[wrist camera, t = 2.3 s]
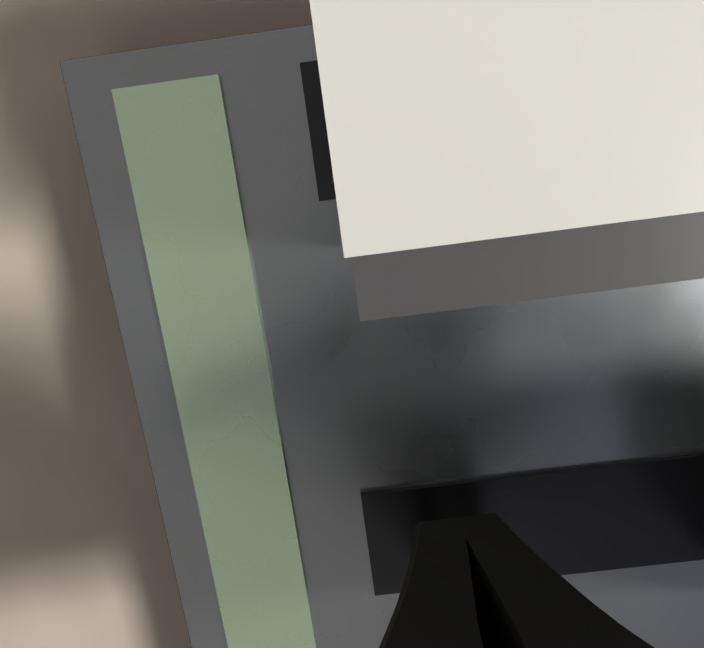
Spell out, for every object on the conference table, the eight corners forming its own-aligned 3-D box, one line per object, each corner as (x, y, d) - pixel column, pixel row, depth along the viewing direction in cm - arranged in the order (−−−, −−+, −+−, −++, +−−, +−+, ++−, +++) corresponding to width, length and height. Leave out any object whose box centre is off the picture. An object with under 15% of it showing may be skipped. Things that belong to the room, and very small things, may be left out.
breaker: (628, 216, 10) (872, 266, 5) (355, 252, 10) (354, 331, 5) (621, -51, 9) (908, -279, 4) (321, -7, 9) (285, -181, 4)
